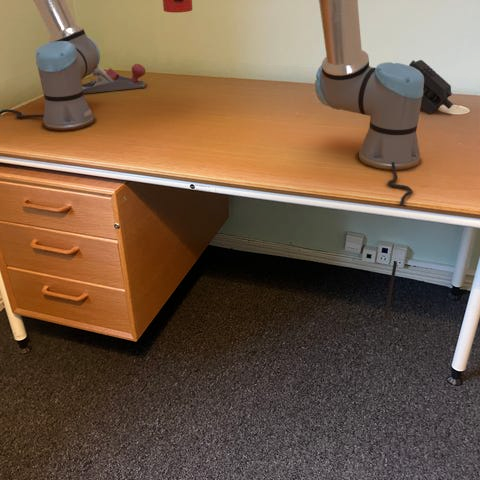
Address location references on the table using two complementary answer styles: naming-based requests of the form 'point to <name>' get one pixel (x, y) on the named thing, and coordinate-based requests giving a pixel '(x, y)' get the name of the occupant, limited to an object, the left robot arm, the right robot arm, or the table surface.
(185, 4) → the canister
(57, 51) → the left robot arm
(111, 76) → the hand plane
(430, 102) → the tool
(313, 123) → the table surface
